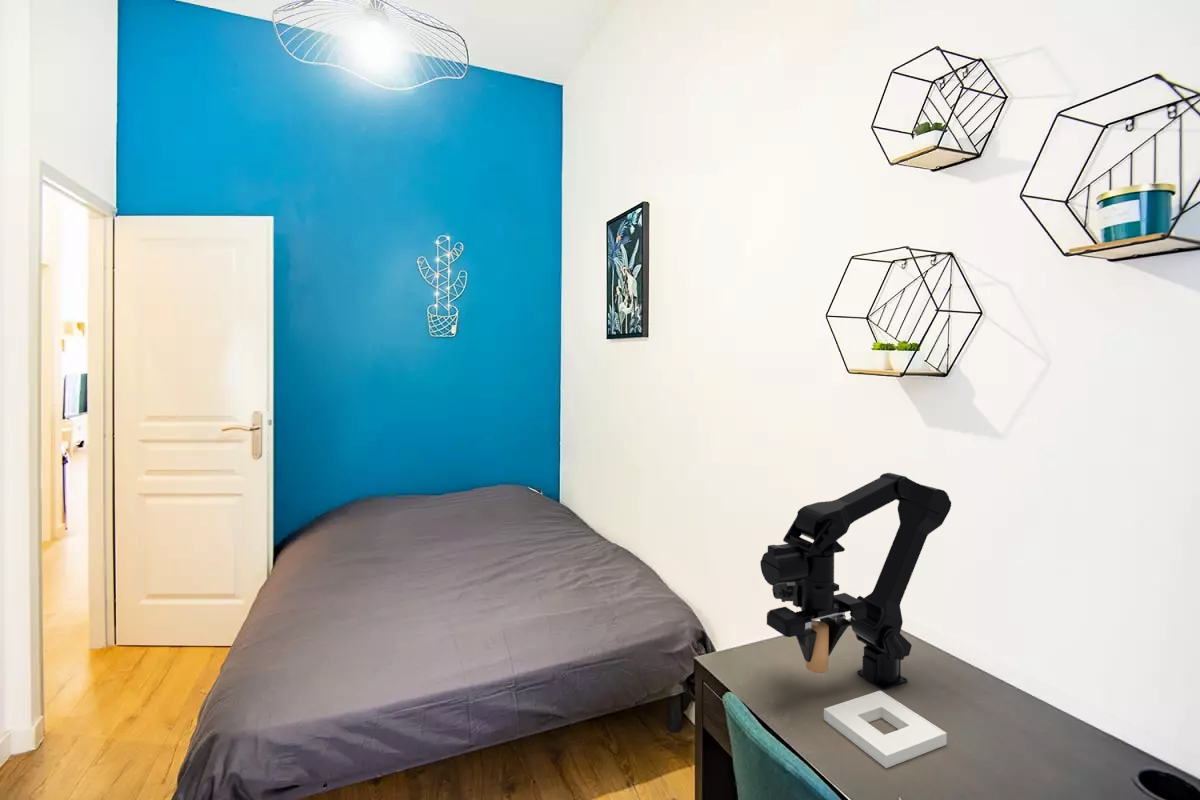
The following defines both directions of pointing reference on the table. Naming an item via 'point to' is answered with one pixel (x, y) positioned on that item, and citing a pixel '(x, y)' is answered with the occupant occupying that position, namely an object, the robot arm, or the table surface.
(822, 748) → the table surface
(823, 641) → the peg
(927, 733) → the frame
